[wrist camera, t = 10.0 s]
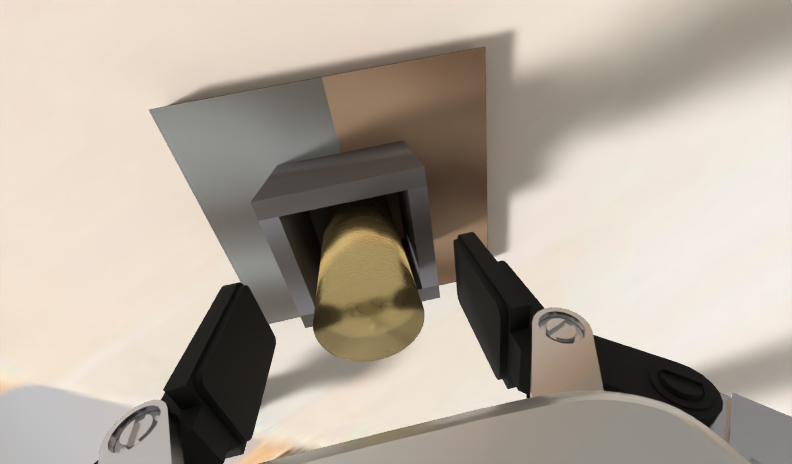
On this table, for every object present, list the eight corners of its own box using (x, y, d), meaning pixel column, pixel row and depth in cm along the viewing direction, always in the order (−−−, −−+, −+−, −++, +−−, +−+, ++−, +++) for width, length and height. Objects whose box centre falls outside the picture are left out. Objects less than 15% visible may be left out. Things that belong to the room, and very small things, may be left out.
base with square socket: (479, 262, 23) (523, 327, 17) (268, 309, 22) (241, 393, 16) (473, 48, 16) (545, 37, 10) (165, 106, 15) (56, 128, 9)
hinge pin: (393, 229, 18) (430, 346, 11) (336, 243, 18) (331, 371, 10) (382, 174, 17) (415, 266, 9) (318, 188, 17) (296, 295, 9)
